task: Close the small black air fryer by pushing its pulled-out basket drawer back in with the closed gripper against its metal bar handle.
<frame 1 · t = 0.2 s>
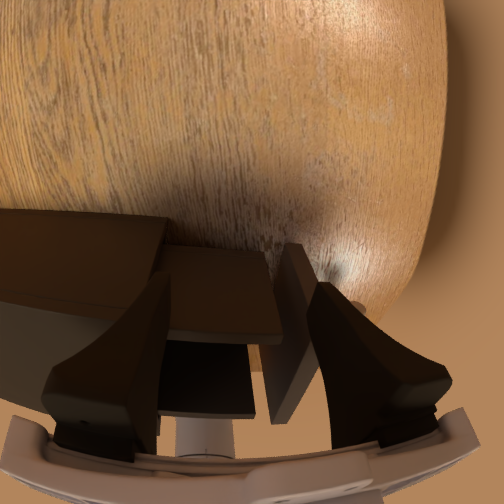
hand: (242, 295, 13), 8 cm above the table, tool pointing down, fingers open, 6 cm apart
air fryer: (80, 278, 21), on the table
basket: (226, 338, 19), point 5 cm above the table, slide at 7.8 cm, touching gripper
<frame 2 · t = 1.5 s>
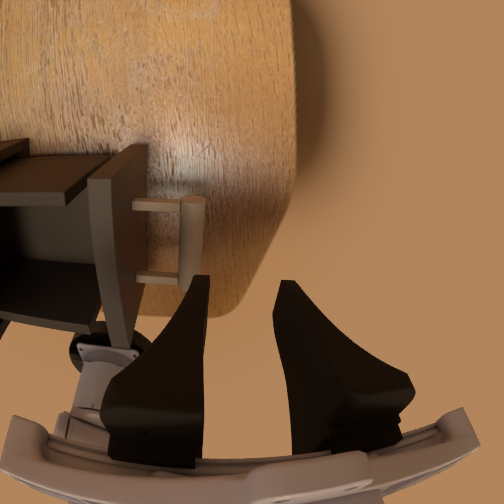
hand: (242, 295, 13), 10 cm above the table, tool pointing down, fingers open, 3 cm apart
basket: (67, 238, 16), point 5 cm above the table, slide at 9.0 cm
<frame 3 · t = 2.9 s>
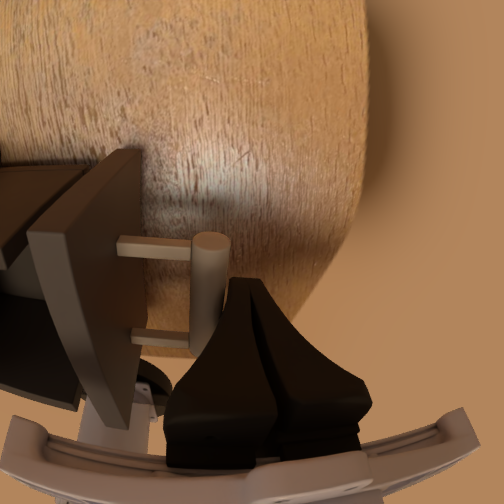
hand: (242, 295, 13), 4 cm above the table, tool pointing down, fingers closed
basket: (35, 285, 11), point 5 cm above the table, slide at 8.1 cm, touching gripper
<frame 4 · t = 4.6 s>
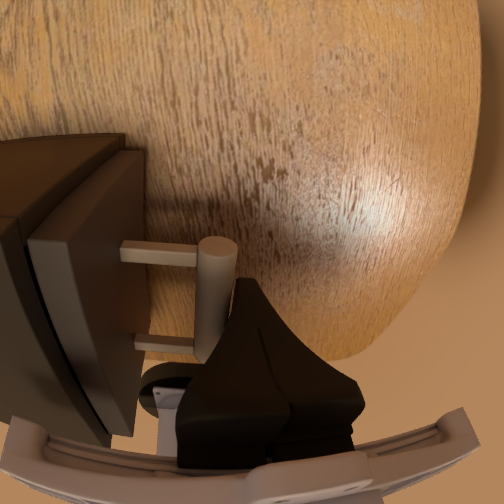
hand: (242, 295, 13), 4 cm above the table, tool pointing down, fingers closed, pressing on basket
air fryer: (22, 233, 14), on the table
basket: (36, 290, 11), point 5 cm above the table, slide at 0.0 cm, touching air fryer, gripper
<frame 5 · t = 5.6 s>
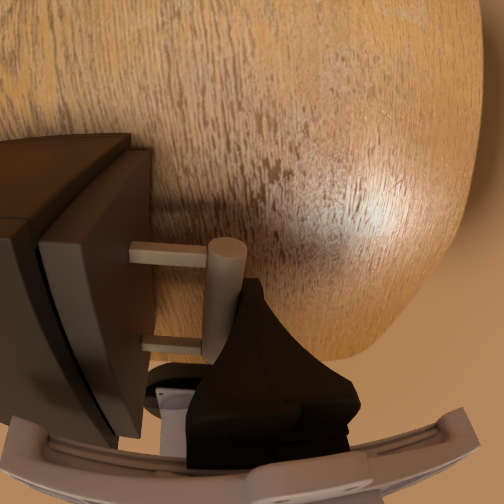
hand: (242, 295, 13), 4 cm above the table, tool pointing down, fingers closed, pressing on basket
air fryer: (25, 233, 14), on the table
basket: (41, 292, 11), point 5 cm above the table, slide at 0.0 cm, touching air fryer, gripper
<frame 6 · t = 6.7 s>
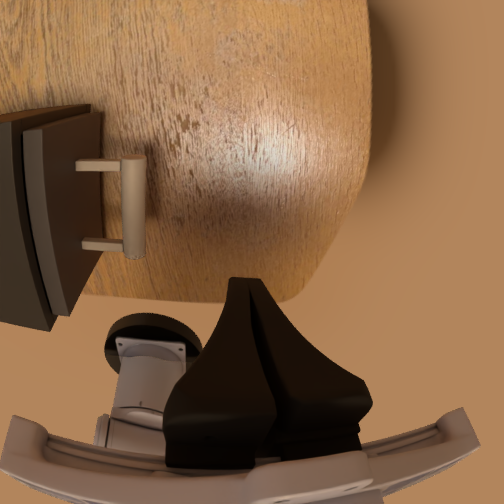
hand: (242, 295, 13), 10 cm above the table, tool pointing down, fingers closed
air fryer: (16, 181, 18), on the table
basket: (20, 204, 15), point 5 cm above the table, slide at 0.0 cm, touching air fryer
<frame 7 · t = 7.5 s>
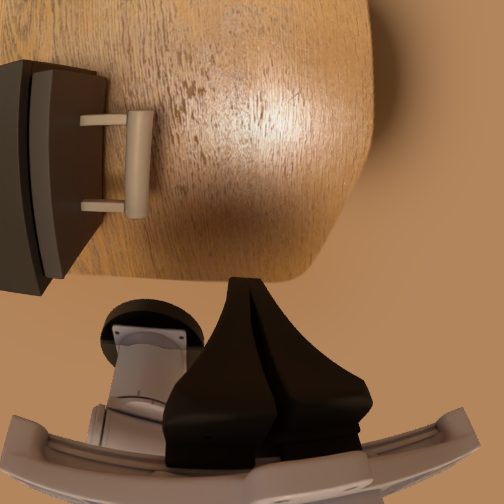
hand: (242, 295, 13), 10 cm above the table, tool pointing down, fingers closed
air fryer: (15, 153, 17), on the table
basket: (19, 166, 13), point 5 cm above the table, slide at 0.0 cm, touching air fryer
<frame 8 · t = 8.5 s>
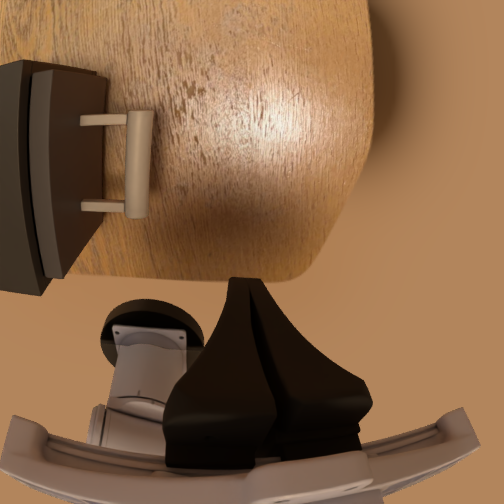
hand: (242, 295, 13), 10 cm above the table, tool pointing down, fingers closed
air fryer: (15, 153, 17), on the table
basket: (19, 166, 13), point 5 cm above the table, slide at 0.0 cm, touching air fryer
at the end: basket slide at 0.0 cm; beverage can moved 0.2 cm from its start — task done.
